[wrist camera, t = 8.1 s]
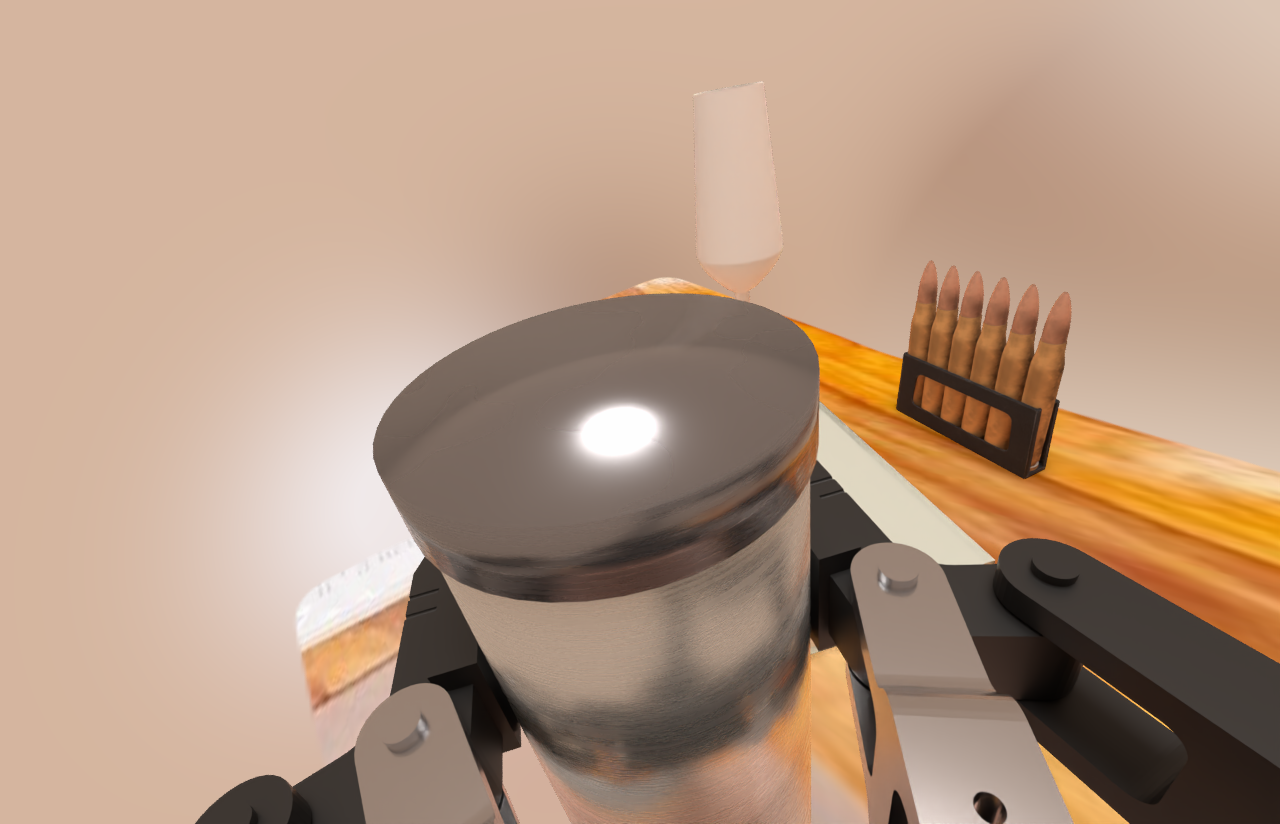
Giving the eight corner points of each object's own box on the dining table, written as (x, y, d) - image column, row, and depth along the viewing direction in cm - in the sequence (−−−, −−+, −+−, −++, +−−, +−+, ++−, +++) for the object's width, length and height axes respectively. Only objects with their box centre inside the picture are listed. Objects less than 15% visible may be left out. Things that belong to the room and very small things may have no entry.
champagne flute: (699, 406, 48) (660, 101, 36) (729, 371, 53) (705, 90, 40) (771, 418, 45) (756, 85, 32) (797, 380, 49) (793, 75, 37)
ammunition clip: (895, 409, 43) (909, 261, 37) (913, 401, 44) (930, 254, 37) (1024, 479, 34) (1072, 301, 28) (1045, 469, 35) (1096, 291, 29)
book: (813, 427, 43) (812, 395, 42) (985, 600, 28) (995, 560, 26) (658, 470, 42) (652, 438, 40) (749, 677, 26) (746, 639, 25)
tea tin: (754, 653, 15) (720, 270, 9) (867, 892, 10) (933, 423, 5) (566, 715, 14) (408, 345, 9) (599, 997, 10) (311, 602, 4)
